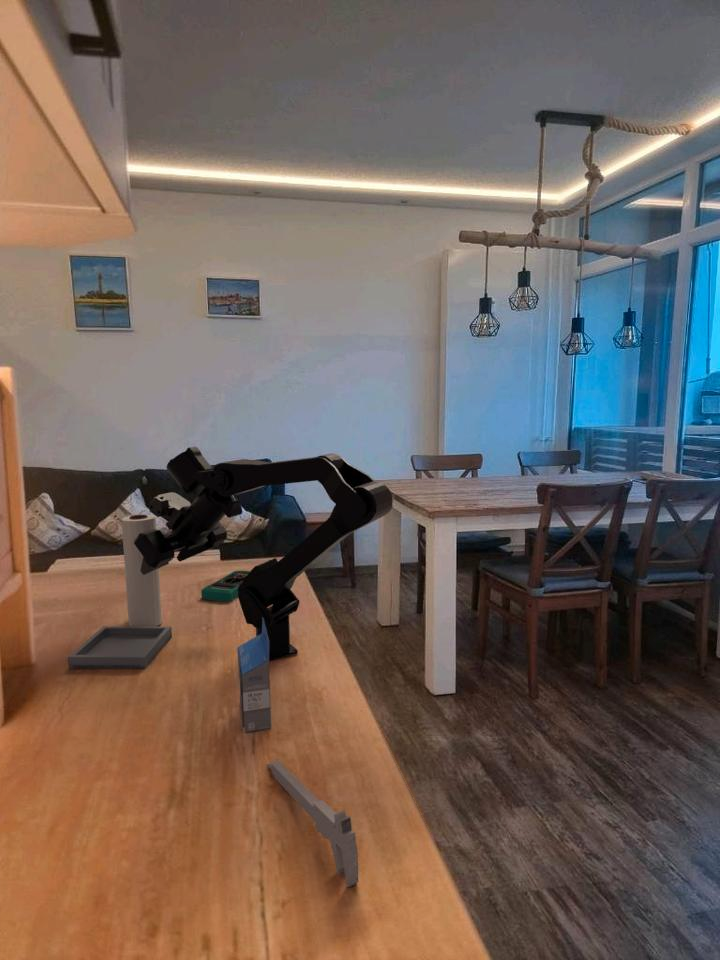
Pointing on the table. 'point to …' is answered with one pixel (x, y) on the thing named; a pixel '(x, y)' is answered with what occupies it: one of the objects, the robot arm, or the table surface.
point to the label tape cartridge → (255, 683)
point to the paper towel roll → (140, 574)
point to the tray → (120, 647)
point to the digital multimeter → (224, 587)
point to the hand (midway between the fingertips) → (161, 565)
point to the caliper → (324, 822)
